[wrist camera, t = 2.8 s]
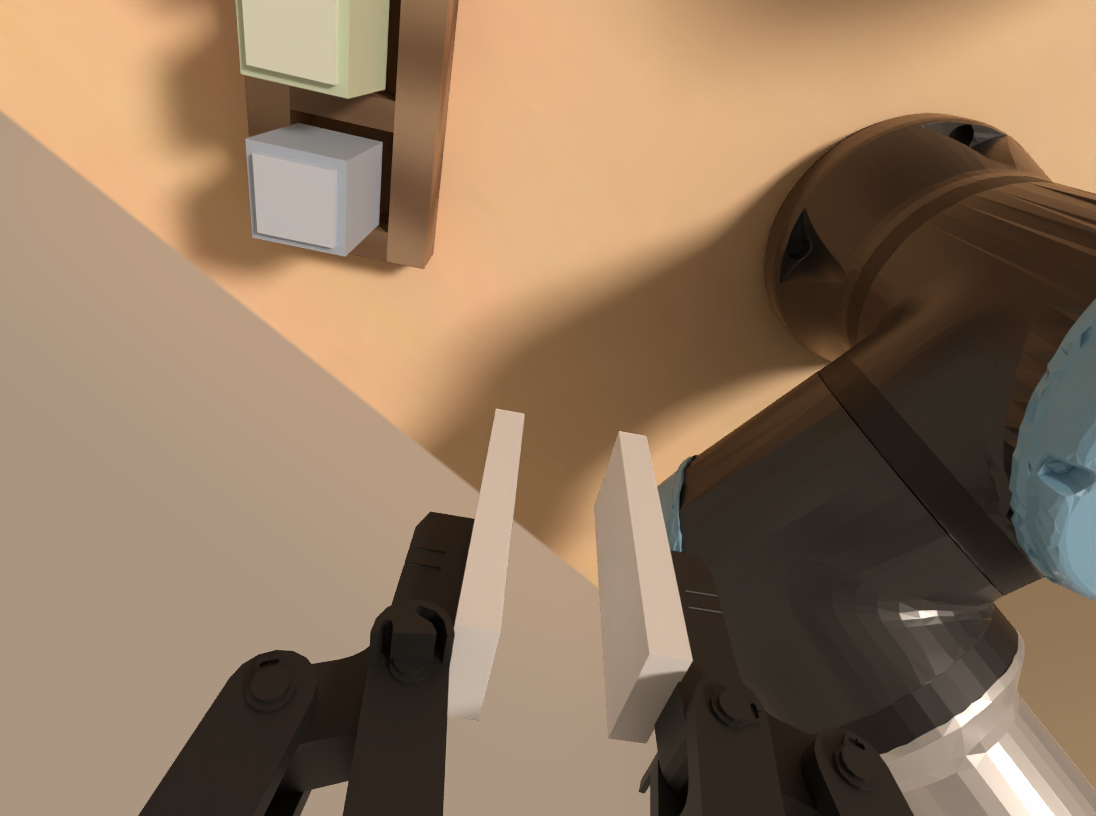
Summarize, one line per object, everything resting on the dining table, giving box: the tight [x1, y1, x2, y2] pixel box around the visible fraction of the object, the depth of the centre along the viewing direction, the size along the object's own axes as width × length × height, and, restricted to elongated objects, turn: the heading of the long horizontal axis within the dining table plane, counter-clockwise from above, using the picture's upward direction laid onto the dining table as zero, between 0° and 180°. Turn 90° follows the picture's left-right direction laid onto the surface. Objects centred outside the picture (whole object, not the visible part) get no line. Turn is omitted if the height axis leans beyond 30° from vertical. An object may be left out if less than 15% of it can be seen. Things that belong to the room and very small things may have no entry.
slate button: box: [245, 123, 383, 257], centre depth 29 cm, size 4×4×6 cm
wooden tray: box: [245, 0, 458, 269], centre depth 30 cm, size 23×10×3 cm, turn 168°
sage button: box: [235, 0, 389, 99], centre depth 26 cm, size 4×4×6 cm
